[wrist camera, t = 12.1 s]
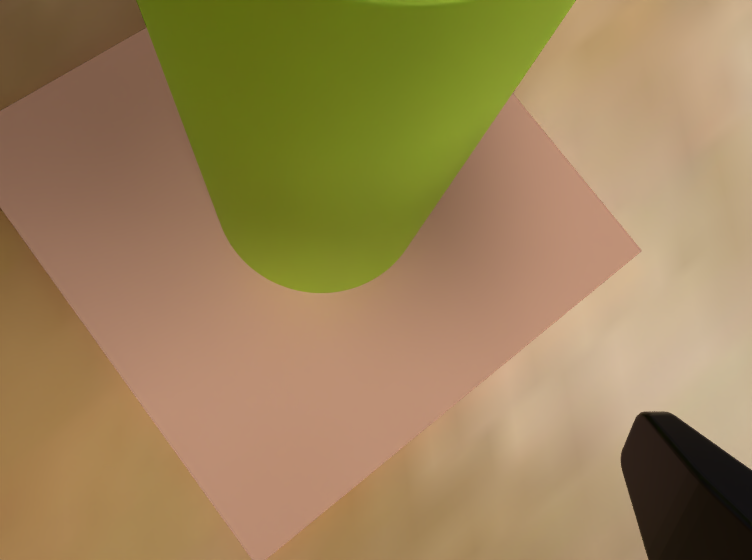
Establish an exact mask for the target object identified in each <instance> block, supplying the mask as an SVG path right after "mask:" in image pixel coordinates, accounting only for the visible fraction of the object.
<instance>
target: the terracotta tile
mask: <svg viewBox="0 0 752 560" xmlns="http://www.w3.org/2000/svg"><path fill="white" fill-rule="evenodd" d="M0 208H1V209H2V211H3V212H4V213H5V215H6V216H7V218H8V219H9V220H10V222H11V223H12V225H13V226H14V227H15V229H16V230H17V232H18V233H19V234H20V236H21V237H22V239H23V240H24V241H25V243H26V244H27V246H28V247H29V248H30V250H31V251H32V253H33V254H34V255H35V257H36V258H37V260H38V261H39V262H40V264H41V265H42V267H43V268H44V269H45V271H46V272H47V274H48V275H49V276H50V278H51V279H52V281H53V282H54V283H55V285H56V286H57V288H58V289H59V290H60V292H61V293H62V295H63V296H64V297H65V299H66V300H67V302H68V303H69V304H70V306H71V307H72V309H73V310H74V311H75V313H76V314H77V316H78V317H79V318H80V320H81V321H82V323H83V324H84V325H85V327H86V328H87V330H88V331H89V332H90V334H91V335H92V337H93V338H94V339H95V341H96V342H97V343H98V345H99V346H100V348H101V349H102V350H103V352H104V353H105V355H106V356H107V357H108V359H109V360H110V362H111V363H112V364H113V366H114V367H115V369H116V370H117V371H118V373H119V374H120V376H121V377H122V378H123V380H124V381H125V383H126V384H127V385H128V387H129V388H130V390H131V391H132V392H133V394H134V395H135V397H136V398H137V399H138V401H139V402H140V404H141V405H142V406H143V408H144V409H145V411H146V412H147V413H148V415H149V416H150V418H151V419H152V420H153V422H154V423H155V425H156V426H157V427H158V429H159V430H160V432H161V433H162V434H163V436H164V437H165V439H166V440H167V441H168V443H169V444H170V446H171V447H172V448H173V450H174V451H175V453H176V454H177V455H178V457H179V458H180V460H181V461H182V462H183V464H184V465H185V467H186V468H187V469H188V471H189V472H190V474H191V475H192V476H193V478H194V479H195V481H196V482H197V483H198V485H199V486H200V488H201V489H202V490H203V492H204V493H205V495H206V496H207V497H208V499H209V500H210V502H211V503H212V504H213V506H214V507H215V509H216V510H217V511H218V513H219V514H220V516H221V517H222V518H223V520H224V521H225V523H226V524H227V525H228V527H229V528H230V530H231V531H232V532H233V534H234V535H235V536H236V538H237V539H238V541H239V542H240V543H241V545H242V546H243V548H244V549H245V550H246V552H247V553H248V555H249V556H250V557H251V559H252V560H266V559H267V558H268V557H270V556H271V555H272V554H273V553H275V552H276V551H277V550H278V549H279V548H281V547H282V546H283V545H284V544H286V543H287V542H288V541H289V540H290V539H292V538H293V537H294V536H295V535H296V534H298V533H299V532H300V531H301V530H303V529H304V528H305V527H306V526H307V525H309V524H310V523H311V522H312V521H314V520H315V519H316V518H317V517H318V516H320V515H321V514H322V513H323V512H324V511H326V510H327V509H328V508H329V507H331V506H332V505H333V504H334V503H335V502H337V501H338V500H339V499H340V498H342V497H343V496H344V495H345V494H346V493H348V492H349V491H350V490H351V489H352V488H354V487H355V486H356V485H357V484H359V483H360V482H361V481H362V480H363V479H365V478H366V477H367V476H368V475H370V474H371V473H372V472H373V471H374V470H376V469H377V468H378V467H379V466H380V465H382V464H383V463H384V462H385V461H387V460H388V459H389V458H390V457H391V456H393V455H394V454H395V453H396V452H398V451H399V450H400V449H401V448H402V447H404V446H405V445H406V444H407V443H409V442H410V441H411V440H412V439H413V438H415V437H416V436H417V435H418V434H419V433H421V432H422V431H423V430H424V429H426V428H427V427H428V426H429V425H430V424H432V423H433V422H434V421H435V420H437V419H438V418H439V417H440V416H441V415H443V414H444V413H445V412H446V411H447V410H449V409H450V408H451V407H452V406H454V405H455V404H456V403H457V402H458V401H460V400H461V399H462V398H463V397H465V396H466V395H467V394H468V393H469V392H471V391H472V390H473V389H474V388H475V387H477V386H478V385H479V384H480V383H482V382H483V381H484V380H485V379H486V378H488V377H489V376H490V375H491V374H493V373H494V372H495V371H496V370H497V369H499V368H500V367H501V366H502V365H503V364H505V363H506V362H507V361H508V360H510V359H511V358H512V357H513V356H514V355H516V354H517V353H518V352H519V351H521V350H522V349H523V348H524V347H525V346H527V345H528V344H529V343H530V342H531V341H533V340H534V339H535V338H536V337H538V336H539V335H540V334H541V333H542V332H544V331H545V330H546V329H547V328H549V327H550V326H551V325H552V324H553V323H555V322H556V321H557V320H558V319H559V318H561V317H562V316H563V315H564V314H566V313H567V312H568V311H569V310H570V309H572V308H573V307H574V306H575V305H577V304H578V303H579V302H580V301H581V300H583V299H584V298H585V297H586V296H588V295H589V294H590V293H591V292H592V291H594V290H595V289H596V288H597V287H598V286H600V285H601V284H602V283H603V282H605V281H606V280H607V279H608V278H609V277H611V276H612V275H613V274H614V273H616V272H617V271H618V270H619V269H620V268H622V267H623V266H624V265H625V264H626V263H628V262H629V261H630V260H631V259H633V258H634V257H635V256H636V255H637V254H639V253H640V252H641V251H642V250H641V249H640V248H639V247H638V245H637V244H636V243H635V242H634V241H633V239H632V238H631V237H630V236H629V234H628V233H627V232H626V231H625V230H624V228H623V227H622V226H621V225H620V223H619V222H618V221H617V220H616V219H615V217H614V216H613V215H612V214H611V212H610V211H609V210H608V209H607V208H606V206H605V205H604V204H603V203H602V201H601V200H600V199H599V198H598V197H597V195H596V194H595V193H594V192H593V190H592V189H591V188H590V187H589V186H588V184H587V183H586V182H585V181H584V179H583V178H582V177H581V176H580V175H579V173H578V172H577V171H576V170H575V169H574V167H573V166H572V165H571V164H570V162H569V161H568V160H567V159H566V158H565V156H564V155H563V154H562V153H561V151H560V150H559V149H558V148H557V147H556V145H555V144H554V143H553V142H552V140H551V139H550V138H549V137H548V136H547V134H546V133H545V132H544V131H543V129H542V128H541V127H540V126H539V125H538V123H537V122H536V121H535V120H534V118H533V117H532V116H531V115H530V114H529V112H528V111H527V110H526V109H525V107H524V106H523V105H522V104H521V103H520V101H519V100H518V99H517V98H516V96H515V95H514V94H513V93H512V95H511V96H510V98H509V99H508V101H507V102H506V104H505V105H504V106H503V108H502V109H501V111H500V112H499V114H498V115H497V117H496V118H495V120H494V121H493V123H492V124H491V125H490V127H489V128H488V130H487V131H486V133H485V134H484V136H483V137H482V139H481V140H480V142H479V143H478V145H477V146H476V147H475V149H474V150H473V152H472V153H471V155H470V156H469V158H468V159H467V161H466V162H465V164H464V165H463V166H462V168H461V169H460V171H459V172H458V174H457V175H456V177H455V178H454V180H453V181H452V183H451V184H450V186H449V187H448V188H447V190H446V191H445V193H444V194H443V196H442V197H441V199H440V200H439V202H438V203H437V205H436V206H435V208H434V209H433V210H432V212H431V213H430V215H429V216H428V218H427V219H426V221H425V222H424V224H423V225H422V227H421V228H420V229H419V231H418V232H417V234H416V235H415V237H414V238H413V240H412V241H411V243H410V244H409V246H408V247H407V249H406V250H405V251H404V253H403V254H402V255H401V257H400V258H399V259H398V260H397V261H396V262H395V263H394V264H393V265H392V266H391V267H390V268H389V269H388V270H386V271H385V272H384V273H382V274H381V275H380V276H378V277H377V278H375V279H373V280H371V281H369V282H367V283H365V284H363V285H361V286H358V287H355V288H352V289H349V290H345V291H340V292H333V293H309V292H302V291H297V290H293V289H290V288H286V287H284V286H281V285H279V284H276V283H274V282H272V281H270V280H268V279H266V278H265V277H263V276H262V275H260V274H259V273H257V272H256V271H255V270H253V269H252V268H251V267H250V266H249V265H247V264H246V263H245V262H244V261H243V260H242V259H241V257H240V256H239V255H238V254H237V253H236V251H235V250H234V249H233V247H232V246H231V244H230V243H229V241H228V239H227V238H226V236H225V234H224V232H223V229H222V227H221V224H220V222H219V219H218V216H217V214H216V211H215V208H214V206H213V203H212V200H211V198H210V195H209V192H208V190H207V187H206V184H205V182H204V179H203V176H202V174H201V171H200V168H199V166H198V163H197V160H196V158H195V155H194V152H193V150H192V147H191V144H190V142H189V139H188V136H187V134H186V131H185V128H184V126H183V123H182V120H181V118H180V115H179V112H178V110H177V107H176V104H175V102H174V99H173V96H172V94H171V91H170V88H169V86H168V83H167V80H166V78H165V75H164V72H163V70H162V67H161V64H160V62H159V59H158V56H157V54H156V51H155V49H154V46H153V43H152V41H151V38H150V35H149V33H148V30H147V27H146V28H144V29H143V30H141V31H139V32H137V33H136V34H134V35H132V36H130V37H129V38H127V39H125V40H123V41H122V42H120V43H118V44H116V45H115V46H113V47H111V48H109V49H108V50H106V51H104V52H102V53H101V54H99V55H97V56H95V57H94V58H92V59H90V60H88V61H87V62H85V63H83V64H81V65H80V66H78V67H76V68H74V69H73V70H71V71H69V72H67V73H66V74H64V75H62V76H60V77H59V78H57V79H55V80H53V81H52V82H50V83H48V84H46V85H45V86H43V87H41V88H39V89H38V90H36V91H34V92H32V93H31V94H29V95H27V96H25V97H23V98H22V99H20V100H18V101H16V102H15V103H13V104H11V105H9V106H8V107H6V108H4V109H2V110H1V111H0Z"/></svg>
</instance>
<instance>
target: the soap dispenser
mask: <svg viewBox="0 0 752 560" xmlns="http://www.w3.org/2000/svg"><path fill="white" fill-rule="evenodd" d="M136 1H137V3H138V6H139V9H140V11H141V14H142V17H143V19H144V22H145V25H146V27H147V30H148V33H149V35H150V38H151V41H152V43H153V46H154V49H155V51H156V54H157V56H158V59H159V62H160V64H161V67H162V70H163V72H164V75H165V78H166V80H167V83H168V86H169V88H170V91H171V94H172V96H173V99H174V102H175V104H176V107H177V110H178V112H179V115H180V118H181V120H182V123H183V126H184V128H185V131H186V134H187V136H188V139H189V142H190V144H191V147H192V150H193V152H194V155H195V158H196V160H197V163H198V166H199V168H200V171H201V174H202V176H203V179H204V182H205V184H206V187H207V190H208V192H209V195H210V198H211V200H212V203H213V206H214V208H215V211H216V214H217V216H218V219H219V222H220V224H221V227H222V229H223V232H224V234H225V236H226V238H227V239H228V241H229V243H230V244H231V246H232V247H233V249H234V250H235V251H236V253H237V254H238V255H239V256H240V257H241V259H242V260H243V261H244V262H245V263H246V264H247V265H249V266H250V267H251V268H252V269H253V270H255V271H256V272H257V273H259V274H260V275H262V276H263V277H265V278H266V279H268V280H270V281H272V282H274V283H276V284H279V285H281V286H284V287H286V288H290V289H293V290H297V291H302V292H309V293H333V292H340V291H345V290H349V289H352V288H355V287H358V286H361V285H363V284H365V283H367V282H369V281H371V280H373V279H375V278H377V277H378V276H380V275H381V274H382V273H384V272H385V271H386V270H388V269H389V268H390V267H391V266H392V265H393V264H394V263H395V262H396V261H397V260H398V259H399V258H400V257H401V255H402V254H403V253H404V251H405V250H406V249H407V247H408V246H409V244H410V243H411V241H412V240H413V238H414V237H415V235H416V234H417V232H418V231H419V229H420V228H421V227H422V225H423V224H424V222H425V221H426V219H427V218H428V216H429V215H430V213H431V212H432V210H433V209H434V208H435V206H436V205H437V203H438V202H439V200H440V199H441V197H442V196H443V194H444V193H445V191H446V190H447V188H448V187H449V186H450V184H451V183H452V181H453V180H454V178H455V177H456V175H457V174H458V172H459V171H460V169H461V168H462V166H463V165H464V164H465V162H466V161H467V159H468V158H469V156H470V155H471V153H472V152H473V150H474V149H475V147H476V146H477V145H478V143H479V142H480V140H481V139H482V137H483V136H484V134H485V133H486V131H487V130H488V128H489V127H490V125H491V124H492V123H493V121H494V120H495V118H496V117H497V115H498V114H499V112H500V111H501V109H502V108H503V106H504V105H505V104H506V102H507V101H508V99H509V98H510V96H511V95H512V93H513V92H514V90H515V89H516V87H517V86H518V84H519V83H520V82H521V80H522V79H523V77H524V76H525V74H526V73H527V71H528V70H529V68H530V67H531V65H532V64H533V63H534V61H535V60H536V58H537V57H538V55H539V54H540V52H541V51H542V49H543V48H544V46H545V45H546V43H547V42H548V41H549V39H550V38H551V36H552V35H553V33H554V32H555V30H556V29H557V27H558V26H559V24H560V23H561V22H562V20H563V19H564V17H565V16H566V14H567V13H568V11H569V10H570V8H571V7H572V5H573V4H574V2H575V1H576V0H136Z"/></svg>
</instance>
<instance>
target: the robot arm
mask: <svg viewBox="0 0 752 560" xmlns="http://www.w3.org/2000/svg"><path fill="white" fill-rule="evenodd" d="M621 467H622V471H623V475H624V478H625V482H626V485H627V488H628V492H629V495H630V499H631V502H632V506H633V509H634V512H635V516H636V519H637V523H638V526H639V529H640V533H641V536H642V540H643V543H644V546H645V550H646V553H647V556H648V559H649V560H752V470H751V469H749V468H748V467H746V466H745V465H744V464H742V463H741V462H739V461H738V460H737V459H735V458H734V457H732V456H731V455H730V454H728V453H727V452H725V451H724V450H723V449H721V448H720V447H718V446H717V445H716V444H714V443H713V442H711V441H710V440H709V439H707V438H706V437H704V436H703V435H702V434H700V433H699V432H697V431H696V430H695V429H693V428H692V427H690V426H689V425H687V424H686V423H685V422H683V421H682V420H680V419H679V418H678V417H676V416H675V415H673V414H671V413H669V412H641V413H640V414H639V415H638V416H637V417H636V419H635V421H634V423H633V425H632V428H631V430H630V433H629V435H628V437H627V440H626V442H625V445H624V447H623V449H622V453H621Z"/></svg>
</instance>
